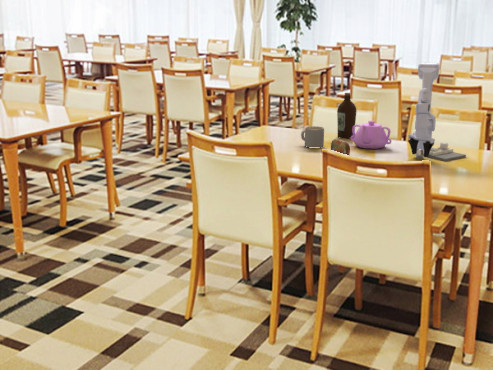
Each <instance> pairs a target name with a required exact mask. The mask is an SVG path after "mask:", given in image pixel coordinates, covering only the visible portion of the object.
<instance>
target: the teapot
mask: <svg viewBox="0 0 493 370" xmlns="http://www.w3.org/2000/svg"><path fill="white" fill-rule="evenodd" d="M375 122H376V121H375V120H368V123H362V124H358V123H357V124H355V125H354V126H353V128H352V132H353V136H351V138H350V140H351V141H352V142H354V144H355V145H356V146H357V147H358V148H361V149H371V150H372V149H373V150H377V149H382V148H384V147H385V146H386V145H390V144H392V139H390V136H391V129H390V128H389V127H388V126H383V125H381V124H380V123H375ZM356 127H358V129H357V130H356ZM385 130H386V131H387V133H386V131H385ZM353 137H354V138H353Z"/></svg>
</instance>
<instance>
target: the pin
mask: <svg viewBox="0 0 493 370" xmlns="http://www.w3.org/2000/svg"><path fill="white" fill-rule="evenodd" d="M415 155H416V157H415V159H416V160H424V159H425V157H424V149H417V151H416V154H415Z"/></svg>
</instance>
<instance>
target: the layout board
mask: <svg viewBox="0 0 493 370" xmlns="http://www.w3.org/2000/svg"><path fill="white" fill-rule="evenodd" d="M433 148H434V149H431V150H430V152H429V155H428V157H427V158H430V159H433V158H434V160H437V159H439V161H442V160H443V161H442V162H449V161H454V160H459V159H463V158H466V157H467V154H464V153H459V152H455V151H454V148H451V147H449V143H448V142H440V145H439V147H433ZM448 160H449V161H448Z"/></svg>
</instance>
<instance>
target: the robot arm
mask: <svg viewBox="0 0 493 370" xmlns="http://www.w3.org/2000/svg"><path fill="white" fill-rule="evenodd" d="M417 66H418V67H417V75H418V78H419V80H422V84H421V85H422V86H421V87H422V88H421V89H420V90H419V92H418V99H417V103H416V107H415V120H414V121H415V122H414V131H413V133H410V134H409V133H408V136H407V138H408V139H407V140H408V141H407V142H408V144H409V146H410V149H411V154H412V155H416V151H417V149H424V158H429V157H428V155H429V152H430V150H431V149H434V148H435V147H433V146H434V145H435V141H436V139H435V138H433V137H432V136H433V132H434V131H435V130H436V116H435V114H433V113H432V112H431V110H432V95H433V84H434V81H436V80H438V79H439V75H440V64H439V63H431V62H430V63H427V62H424V63H423V62H419V63H418V65H417Z"/></svg>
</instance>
